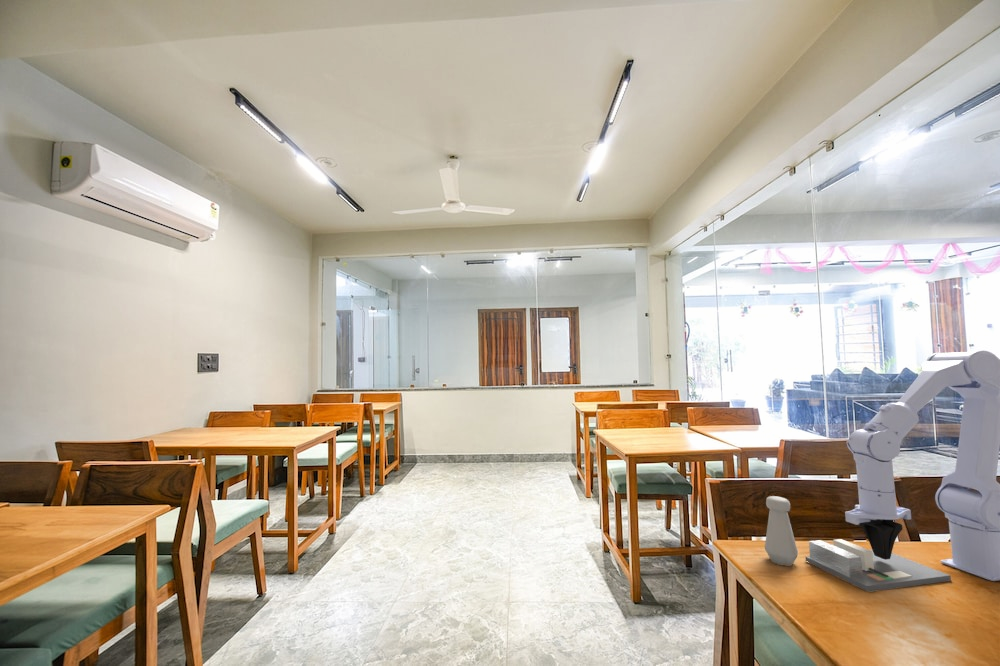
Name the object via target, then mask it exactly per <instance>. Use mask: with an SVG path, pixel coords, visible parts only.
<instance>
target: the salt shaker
mask: <svg viewBox="0 0 1000 666" xmlns="http://www.w3.org/2000/svg"><path fill="white" fill-rule="evenodd" d="M765 504H766V508H768V509H769V513H768V520H767V527H766V534H765V535H766V536H765V543H764V550H765V552H766V553H767V555H768V557H769V559H770V561H771V562H772V563H774V564H776V563H777V564H776V565H779V566H783V565H787V566H786V567H792V566H793V565H794V564H793V563H795V562H796V559H797V557H798V547H797V543H796V540H795V536H794V532H793V529H792V524H791V520H790V516H789V513H788V512H790V510H791V503H790V501H789V499H787V498H785V497H782V496H775V495H772V496H771V495H769V496H768V497H766V501H765ZM792 564H793V565H792ZM791 565H792V566H791Z"/></svg>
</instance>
